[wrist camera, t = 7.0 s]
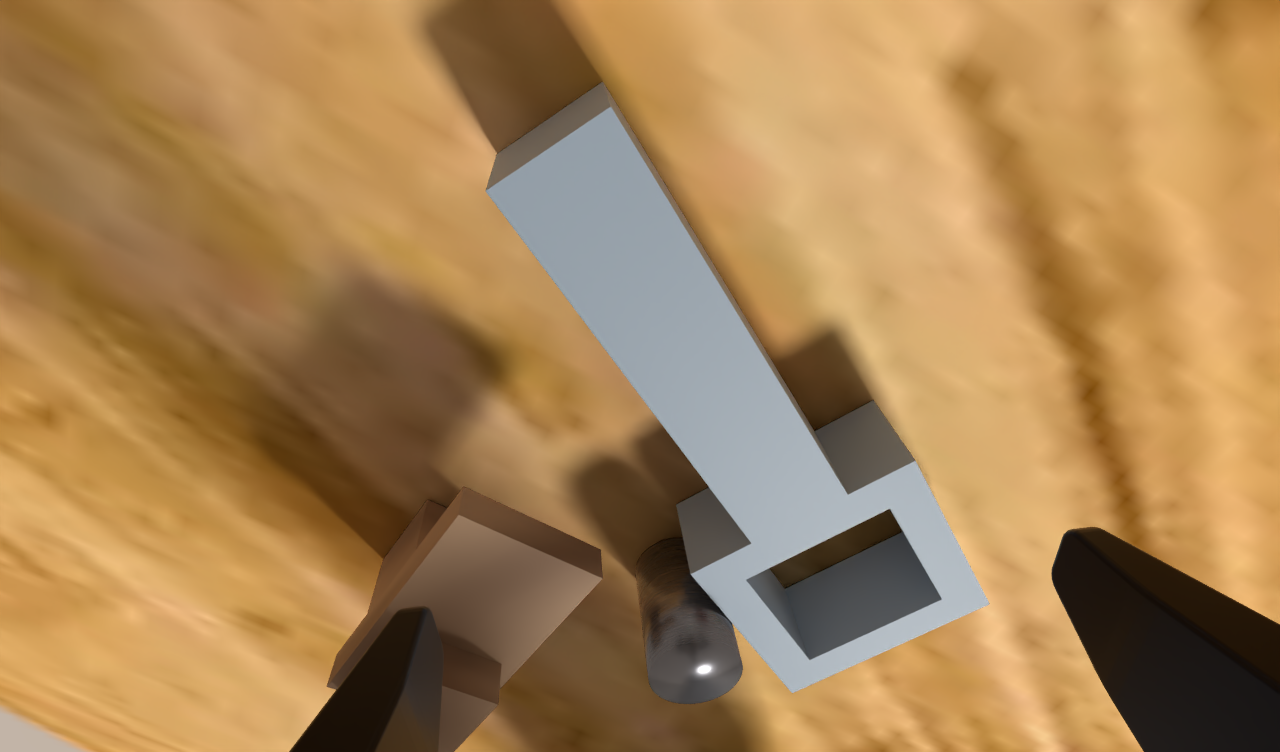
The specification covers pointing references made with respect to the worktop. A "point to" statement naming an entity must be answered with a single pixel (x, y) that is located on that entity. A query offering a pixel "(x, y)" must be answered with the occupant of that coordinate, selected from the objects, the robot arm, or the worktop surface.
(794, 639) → the link
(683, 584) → the pintle
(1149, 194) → the worktop surface
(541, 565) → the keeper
